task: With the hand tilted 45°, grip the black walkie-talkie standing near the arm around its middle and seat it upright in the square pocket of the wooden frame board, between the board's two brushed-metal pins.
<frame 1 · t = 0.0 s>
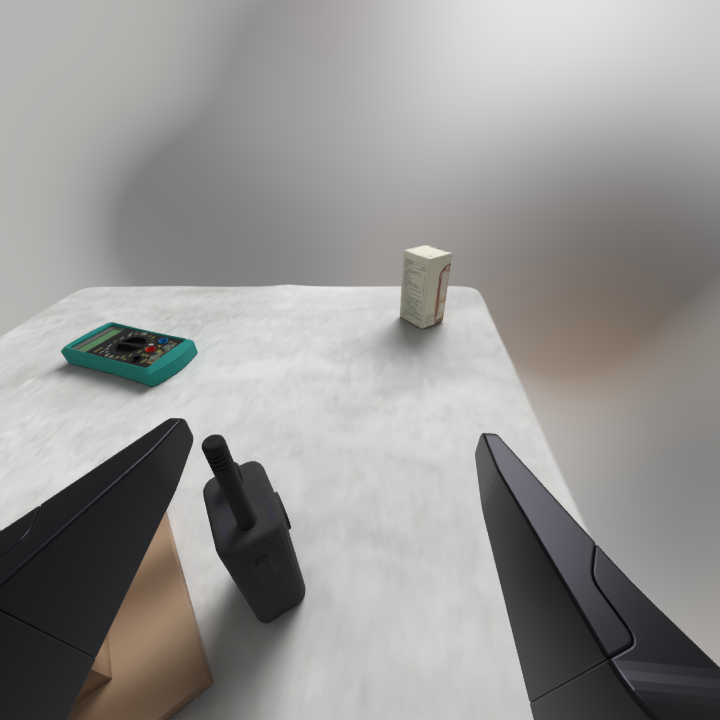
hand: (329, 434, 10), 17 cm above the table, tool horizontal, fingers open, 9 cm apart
walkie-talkie: (276, 578, 22), on the table
skincare box: (420, 319, 49), on the table
digital multimeter: (136, 361, 42), on the table
wooden frame board: (8, 657, 18), on the table
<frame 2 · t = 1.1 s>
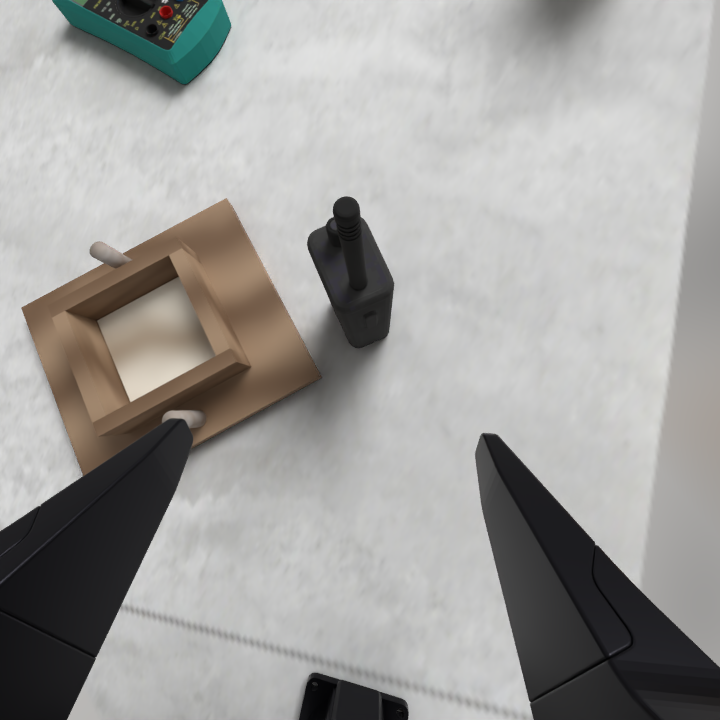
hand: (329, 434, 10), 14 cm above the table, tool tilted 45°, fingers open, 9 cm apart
walkie-talkie: (363, 317, 25), on the table
digital multimeter: (154, 32, 30), on the table
wooden frame board: (171, 343, 25), on the table
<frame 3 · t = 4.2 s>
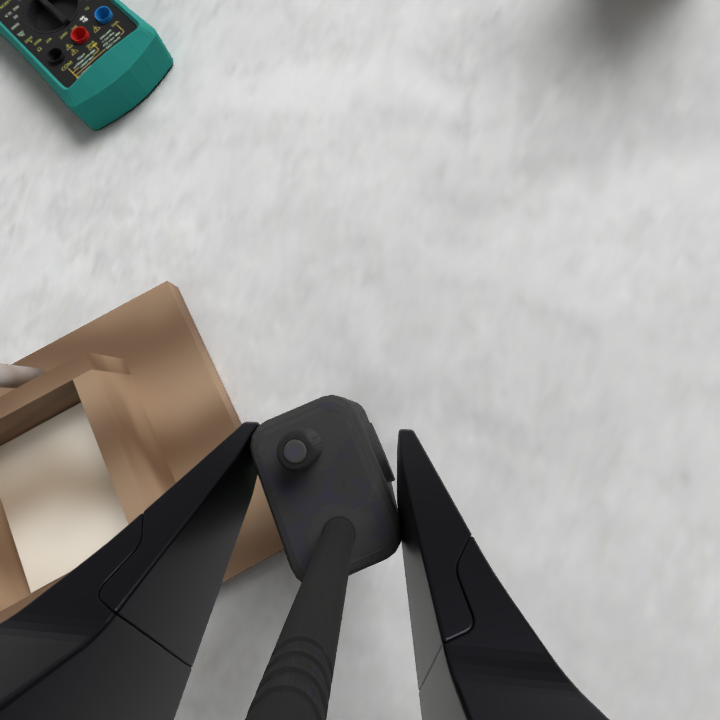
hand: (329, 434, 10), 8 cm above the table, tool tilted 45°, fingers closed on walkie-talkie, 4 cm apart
walkie-talkie: (352, 449, 18), on the table, touching gripper
digital multimeter: (85, 50, 24), on the table
wooden frame board: (91, 480, 18), on the table
when the fingers open (10 cm above the table, at t = 8.7 s): walkie-talkie drops 1 cm, resting on wooden frame board.
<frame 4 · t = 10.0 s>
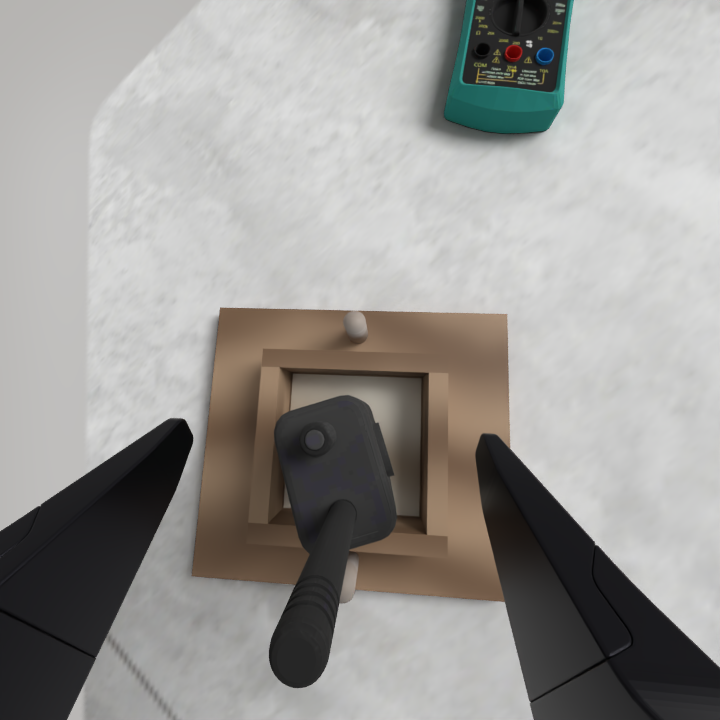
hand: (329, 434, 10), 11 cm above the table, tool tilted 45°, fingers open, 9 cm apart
walkie-talkie: (356, 444, 19), point 1 cm above the table, touching wooden frame board
digital multimeter: (504, 50, 24), on the table
wooden frame board: (354, 440, 20), on the table
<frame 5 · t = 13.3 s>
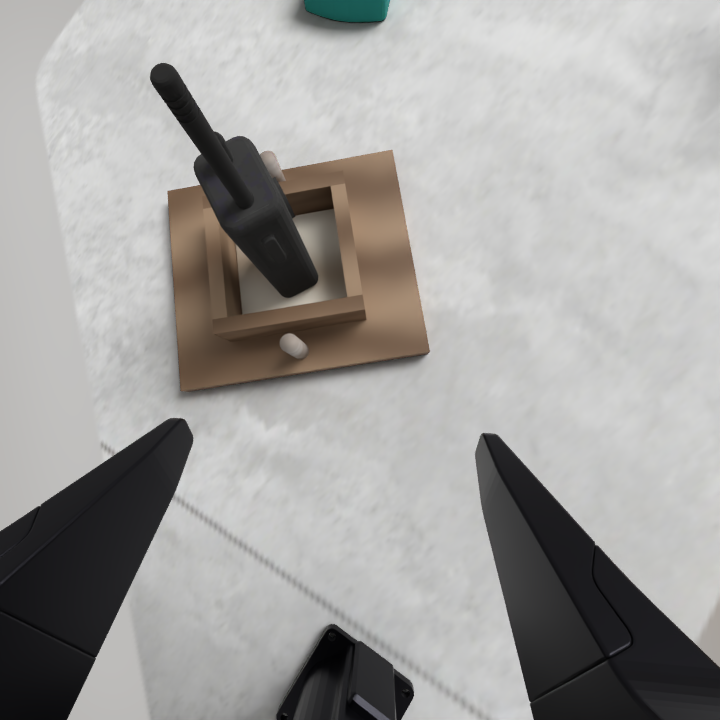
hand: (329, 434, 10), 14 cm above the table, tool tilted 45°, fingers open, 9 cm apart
walkie-talkie: (292, 268, 24), point 1 cm above the table, touching wooden frame board
wooden frame board: (293, 271, 25), on the table
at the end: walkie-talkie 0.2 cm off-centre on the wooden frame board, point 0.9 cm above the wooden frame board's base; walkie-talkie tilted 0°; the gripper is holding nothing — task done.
